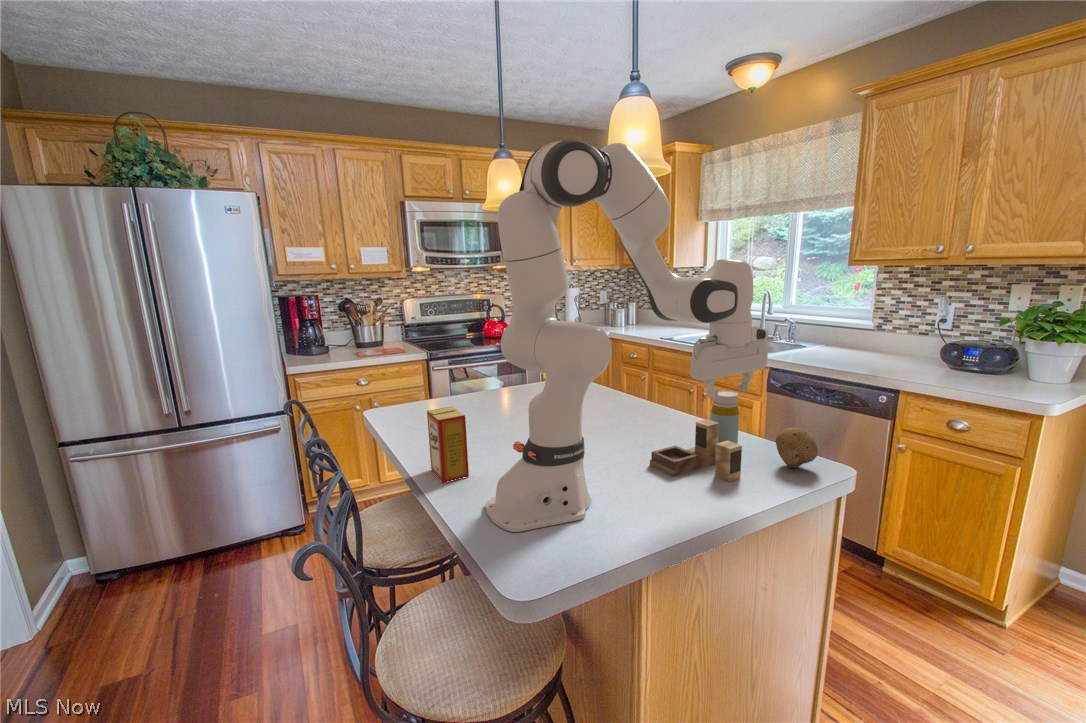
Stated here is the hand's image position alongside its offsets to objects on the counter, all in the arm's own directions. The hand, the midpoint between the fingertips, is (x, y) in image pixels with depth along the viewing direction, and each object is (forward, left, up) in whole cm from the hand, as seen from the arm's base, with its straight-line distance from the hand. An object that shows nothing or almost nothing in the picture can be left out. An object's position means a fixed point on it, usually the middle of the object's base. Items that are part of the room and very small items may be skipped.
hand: (728, 393), depth 111 cm
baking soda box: (-55, +38, -20) cm, 69 cm away
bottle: (+15, +13, -20) cm, 29 cm away
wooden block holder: (-1, +10, -20) cm, 23 cm away
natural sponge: (+18, -6, -20) cm, 28 cm away
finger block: (0, -1, -20) cm, 20 cm away
